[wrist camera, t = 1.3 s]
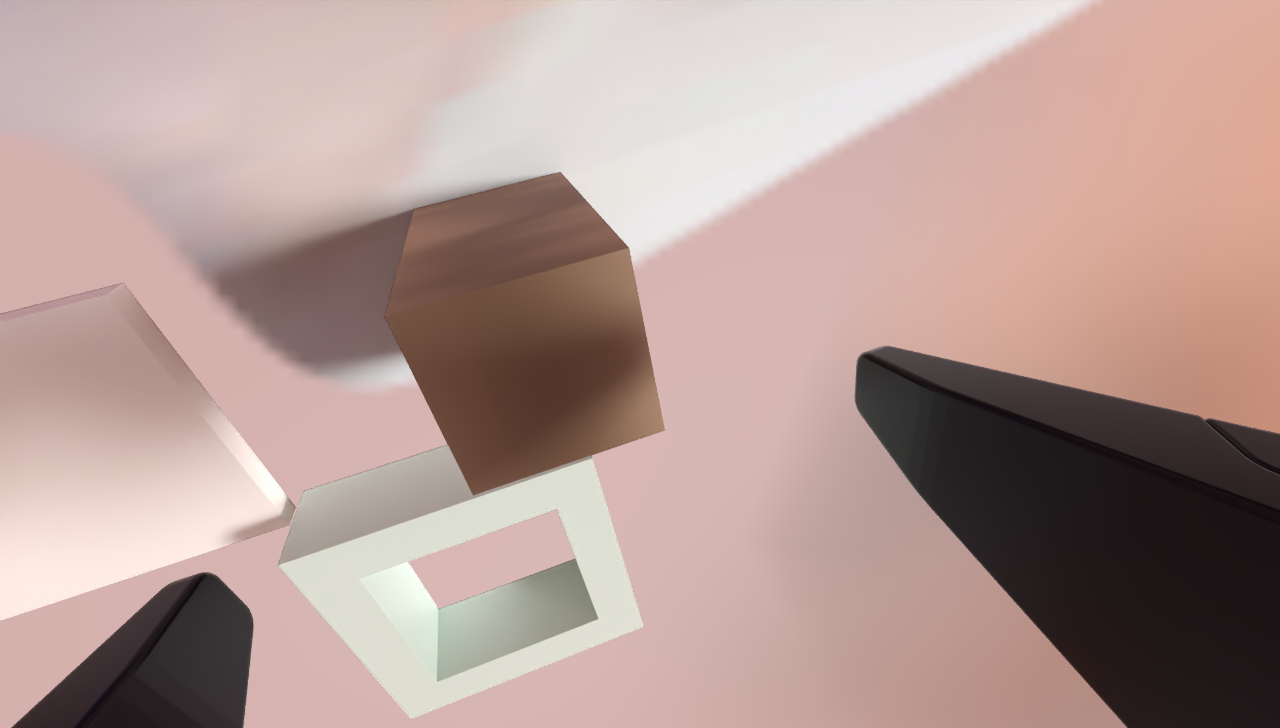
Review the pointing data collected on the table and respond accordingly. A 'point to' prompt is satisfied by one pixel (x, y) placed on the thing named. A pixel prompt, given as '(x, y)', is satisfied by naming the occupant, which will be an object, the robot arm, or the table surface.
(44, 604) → the tile
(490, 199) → the walnut peg block
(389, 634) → the frame
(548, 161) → the table surface
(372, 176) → the table surface
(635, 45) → the table surface
